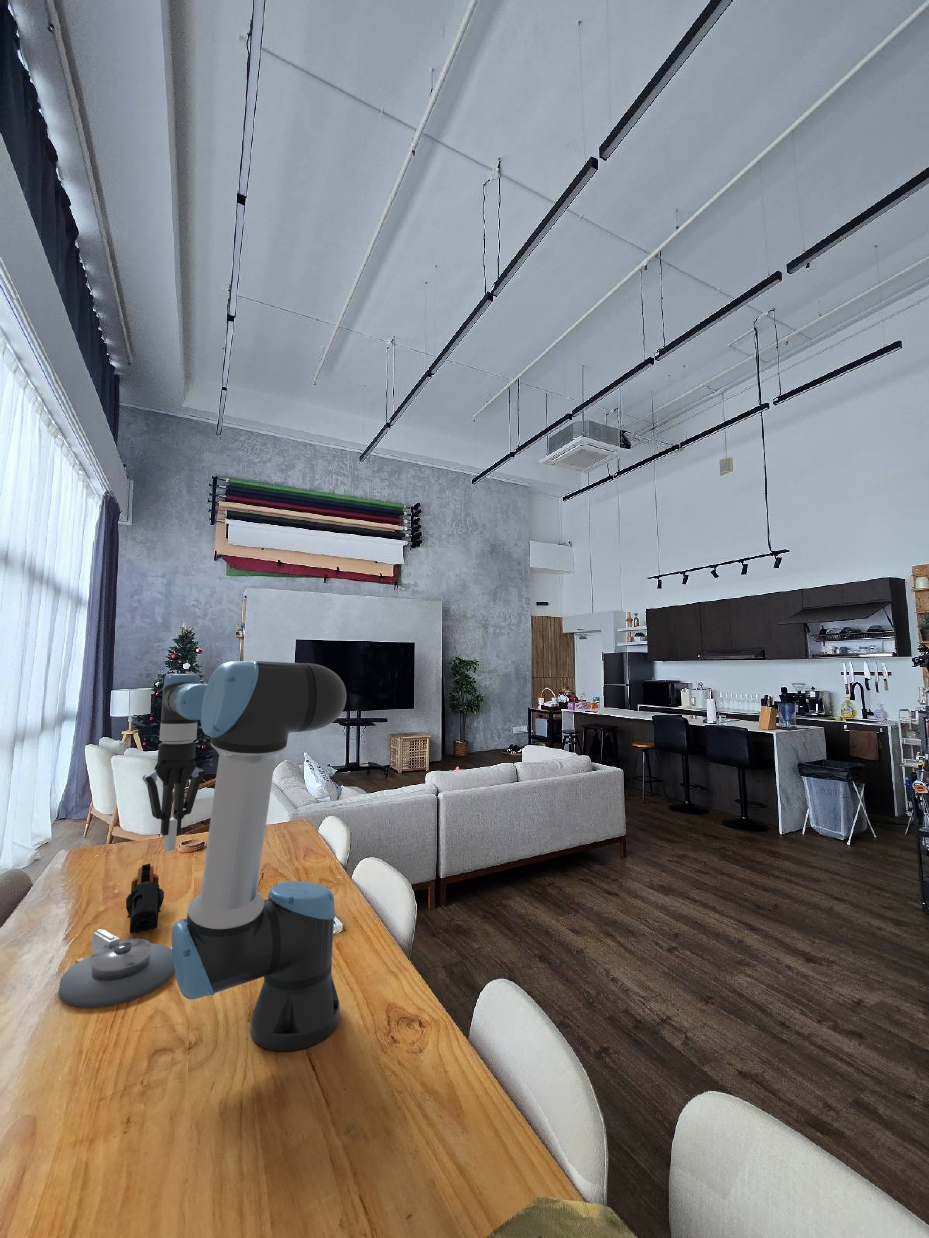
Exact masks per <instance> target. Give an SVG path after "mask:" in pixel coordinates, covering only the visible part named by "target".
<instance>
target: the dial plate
mask: <svg viewBox="0 0 929 1238" xmlns="http://www.w3.org/2000/svg"><path fill="white" fill-rule="evenodd" d="M93 955H94V954H92V955H90V956H88V957H80V958H78V959H76V960H75V964H73V965H72V966H70V967H69V968H68V969H67V970H66V971H65V972H64V973H63V974H62V976H61V978H60V980H59V985H58V986H59V987H58V988H59V989H58V997H59V1000H61V1002H63V1003H64V1004H66V1005H68V1006H70V1007H73V1008H81V1009H96V1008H97V1009H98V1008H106V1007H110V1006H116V1005H120V1004H124V1003H128V1002H131V1001H134V1000H137V999H138V998H141V997H143V996H147V995H148V994H150V993H152V992H154V991H155V990H158V989H159V988H161V987H162V986H164V985H165V984H166V983H167V982H169V980H170V979H171V978H172V977H173V976H174V975H175V969H174V963H173V955H172V946H170V947H169V946H166V945H164V944H159V943H151V950H150V961H149V964H148V965H147V966H146V967H145V968H144V969H142V970H140V971H139V972H137V973H134V974H132V975H129V976H126V977H123V978H118V979H110V980H103V979H97V978H95V977H93V976H92V973H91V972H92V961H93Z"/></svg>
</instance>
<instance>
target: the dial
mask: <svg viewBox="0 0 929 1238" xmlns="http://www.w3.org/2000/svg"><path fill="white" fill-rule="evenodd" d="M151 944H152V943H151V942H150V941H149V940H148V939H144V938H128V939H122V940H121V939H120V938H119V937H118V936H116V935H114V934H113V933H111V932H109V931H107V930H106V929H101V928H99V929H97V930H96V931H94V932H93V933H92V944H91V954H92V955H93V961H92V972H91V973H92V976H93V977H95V978H97V979H103V980H110V979H118V978H123V977H126V976H129V975H132V974H134V973H137V972H139V971H140V970H142V969H144V968H145V967H146V966H147V965H148V964H149V961H150V950H151Z"/></svg>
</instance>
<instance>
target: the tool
mask: <svg viewBox="0 0 929 1238" xmlns="http://www.w3.org/2000/svg"><path fill="white" fill-rule="evenodd" d="M159 880H160V879H159V875H158V874H155V873H154V865H151V863H146V864H142V866H140V867H139V868H138V869H137V876H135V877H133V878H132V880H131V886H130V887H131V888H130V893H128V895H127V897H126V898H125V909H126V912H127V913H128V915H127V917H126V918H128V919H129V934H130V935H131V934H139V933H146V932H149V931H152V930H156V929H157V928H158V924H159V913H160V912H161V907H162V905H163V902H164V899H165V891H164V890H163V889H162V888H160V883H159V882H160V881H159Z"/></svg>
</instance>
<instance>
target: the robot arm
mask: <svg viewBox="0 0 929 1238" xmlns="http://www.w3.org/2000/svg"><path fill="white" fill-rule="evenodd" d="M347 696H348V695H347V690H346V685H345V684H344V682H343V680H342V678H341V677H340V675H338V674H337V673H336V672H335V671H333V670H331V669H330V668H328V667H326V666H324V665H320V664H317V663H310V662H302V663H301V662H283V661H281V662H280V661H267V660H266V661H263V660H253V659H252V660H251V659H248V660H241V661H240V660H239V661H238V660H237V661H235V660H233V661H230V660H229V661H226V662H224V663H222V664H220V665H219V666H217V668H215V670H214V672H213V673H212V674H211V676H210V678H209V679H208V681H207V683H202V682H201V677H200V675H199V674H194V673H190V674H189V673H169V674H166V675H165V677H164V683H163V686H162V700H161V701H162V703H161V718H160V726H159V729H160V730H159V738H158V739H159V741H160V743H159V744H158V750H157V762H156V763H157V764H156V765H155V766H154V770H153V771H152V772H150V773H148V774H144V775H143V776H142V781H143V782H144V784H146V788H147V793H148V799H149V804H150V811H151V815H152V817H153V818H155V819H157V820H161V822H160V834H161V835H162V836H164V838H163V839H164V840H163V849H164V850H165V851H167V852H170V851H174V850H176V847H177V846H176V845H177V834H179V833H181V830H182V822H183V821H182V820H183V819H184V818H185V816H187V815H190V814H191V813H192V810H193V808H194V804H195V800H196V797H197V793H198V791H199V787H200V784H201V781H202V779H204V777H205V775H206V773H207V772H206V771H205V770H202V769H200V768H199V767H197V763H196V762H195V758H196V747H197V744H196V741H195V740H197V736H198V735H197V734H198V733H197V732H198V721H199V720H200V725H201V726H200V727H201V730H202V732H203V733H204V735H206V736H209V737H210V746H211V747H212V748H213V749H214V750H215V751H216V752H217V754H218V755H219V757H218V760H217V761H218V762H217V768H216V774H215V775H216V777H215V784H214V791H213V800H212V804H211V805H212V806H211V807H212V808H211V814H210V820H209V828H208V837H207V844H206V851H205V859H204V867H203V874H202V881H201V888H200V893H199V894H198V895H196V896H195V897H194V898H193V899H192V900H191V901H190V903H189V905H188V909H187V916H186V918H181V919H179V920H177V921H175V922H174V924H173V925H172V929H171V947H172V955H173V963H174V969H175V973H174V975H175V978H176V982H177V985H178V989H179V990H180V993H181V994H182V996H183V997H184V998H186V999H188V1000H196V999H200V998H203V997H204V998H205V997H207V996H208V997H209V996H214V995H215V994H217V993H219V992H222V991H226V990H229V989H231V988H234V987H237V986H240V985H243V984H246V983H249V982H252V981H255V980H258V979H262V978H263V982H262V985H261V988H260V992H259V993H258V994H259V995H258V997H257V999H256V1001H255V1002H256V1004H255V1006H254V1008H253V1010H252V1014H251V1019H250V1031H249V1032H250V1037H251V1039H252V1040H253V1042H254V1043H256V1044H257V1045H258V1046H259V1047H261V1048H264V1049H266V1050H271V1051H275V1052H291V1051H298V1050H299V1051H300V1050H303V1049H306V1048H309V1047H310V1048H311V1047H312V1046H315V1045H317V1044H319V1043H320V1042H322V1041H323V1040H325V1039H326V1038H329V1036H331V1034H332V1033H333V1032H334V1031H335V1030H336V1028H337V1027H338V1024H339V1021H340V1011H341V1009H340V1007H341V1005H340V1000H339V997H338V993H337V989H336V985H335V980H334V978H333V973H332V970H333V969H332V967H333V965H332V964H333V947H334V944H333V943H334V929H335V928H334V925H335V918H336V912H335V911H336V910H335V896H334V894H333V892H332V891H331V890H330V889H329V888H328V887H326V886H325V885H321V884H318V883H316V882H309V881H300V880H299V881H295V880H294V881H283V882H280V883H277V884H276V883H275V885H273V886H271V888H270V889H269V891H268V893H267V898H266V899H264V897H263V895H262V894H261V893H260V892H259V891H258V887H259V885H258V884H259V877H260V871H261V870H260V869H261V863H262V856H263V848H264V842H265V835H266V825H267V820H268V813H269V812H268V811H269V806H270V805H269V804H270V799H271V791H272V784H273V779H274V778H273V776H274V771H275V770H274V769H275V762H276V756H278V755H279V754H280V753H282V752H283V751H284V750H285V749H286V748H287V745H288V739H289V735H290V734H289V733H301V732H311V731H315V730H316V731H317V730H319V729H323V728H325V727H327V726H330V724H332V723H334V722H335V721H336V720H337V719H338V718H339V717H340V716H341V714H343V711H344V709H345V706H346V703H347ZM190 776H191V778H190ZM158 778H159V779H160V781H161V782H162V799H161V800H160V797H159V791H158V790H159V789H158V785H157V783H156V782H157V781H158ZM189 778H190V779H191V780H190V782H189V786H188V789H187V792H185V791H186V786H187V781H188V779H189ZM173 790H174V791H173ZM173 792H174V798H173ZM185 793H186V795H185ZM172 803H173V804H172ZM172 806H173V811H172ZM172 812H173V814H172Z"/></svg>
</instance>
